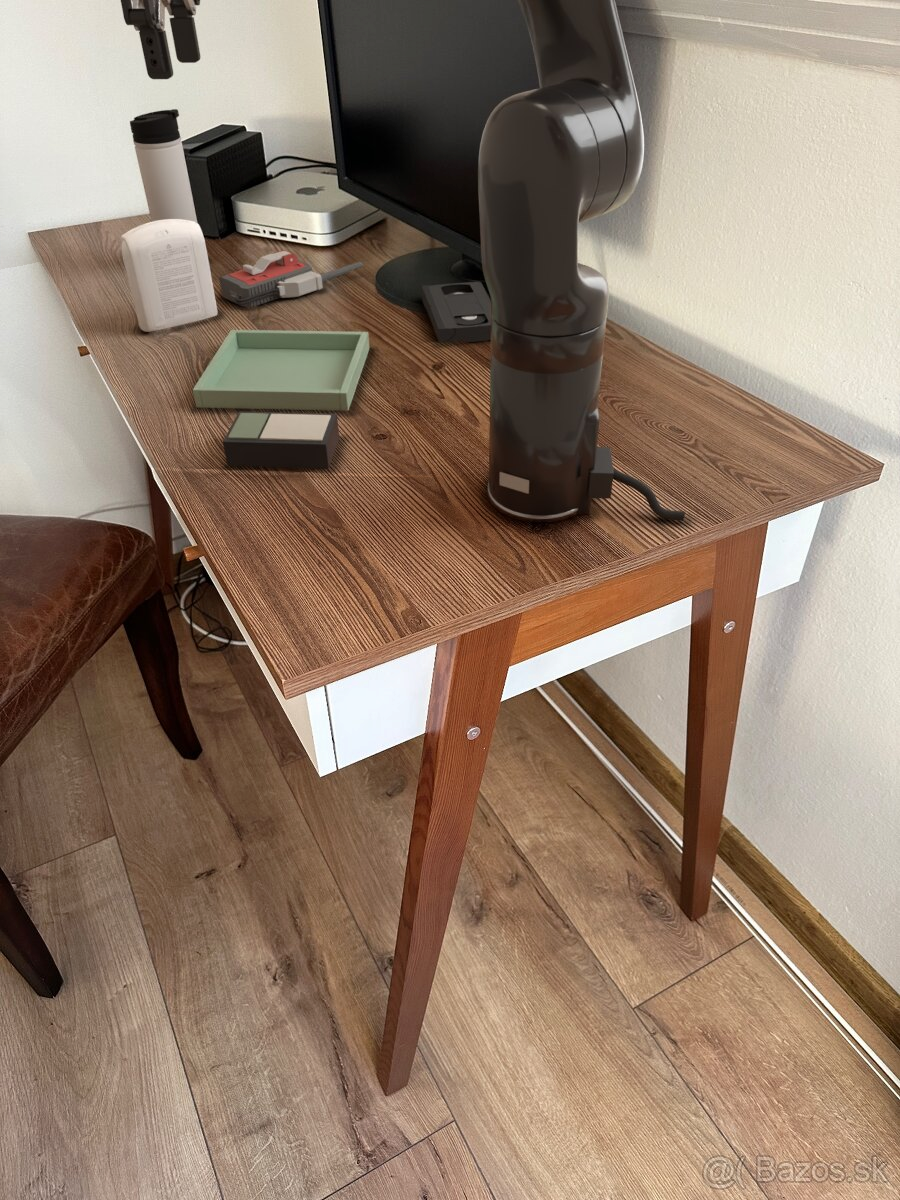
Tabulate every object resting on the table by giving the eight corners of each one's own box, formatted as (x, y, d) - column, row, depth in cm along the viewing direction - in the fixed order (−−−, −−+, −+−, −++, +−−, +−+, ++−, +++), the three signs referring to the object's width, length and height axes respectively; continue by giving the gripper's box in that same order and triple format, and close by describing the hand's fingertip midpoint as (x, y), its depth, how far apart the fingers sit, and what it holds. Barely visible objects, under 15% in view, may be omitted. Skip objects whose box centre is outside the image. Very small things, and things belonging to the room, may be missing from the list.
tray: (369, 350, 106) (368, 331, 105) (348, 413, 95) (346, 393, 93) (234, 348, 108) (231, 329, 106) (196, 410, 96) (192, 389, 94)
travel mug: (201, 270, 128) (171, 115, 115) (156, 271, 128) (120, 116, 115) (211, 255, 133) (182, 105, 120) (167, 255, 133) (134, 106, 120)
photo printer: (211, 307, 118) (192, 209, 110) (224, 317, 115) (205, 218, 107) (135, 325, 113) (109, 225, 105) (146, 336, 111) (121, 234, 103)
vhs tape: (503, 339, 108) (503, 323, 107) (439, 345, 107) (438, 329, 106) (480, 295, 119) (480, 280, 118) (422, 300, 118) (421, 285, 117)
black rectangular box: (339, 440, 90) (336, 412, 88) (329, 471, 86) (325, 442, 84) (243, 437, 91) (238, 409, 89) (228, 468, 86) (222, 440, 84)
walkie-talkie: (249, 317, 115) (367, 276, 125) (243, 283, 112) (365, 244, 122) (212, 299, 120) (329, 261, 130) (205, 266, 117) (325, 230, 127)
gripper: (149, -154, 69) (192, 85, 79) (202, -153, 80) (234, 56, 90) (55, -151, 69) (110, 85, 80) (121, -151, 80) (162, 57, 90)
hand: (176, 70), depth 85 cm, fingers open, 8 cm apart
